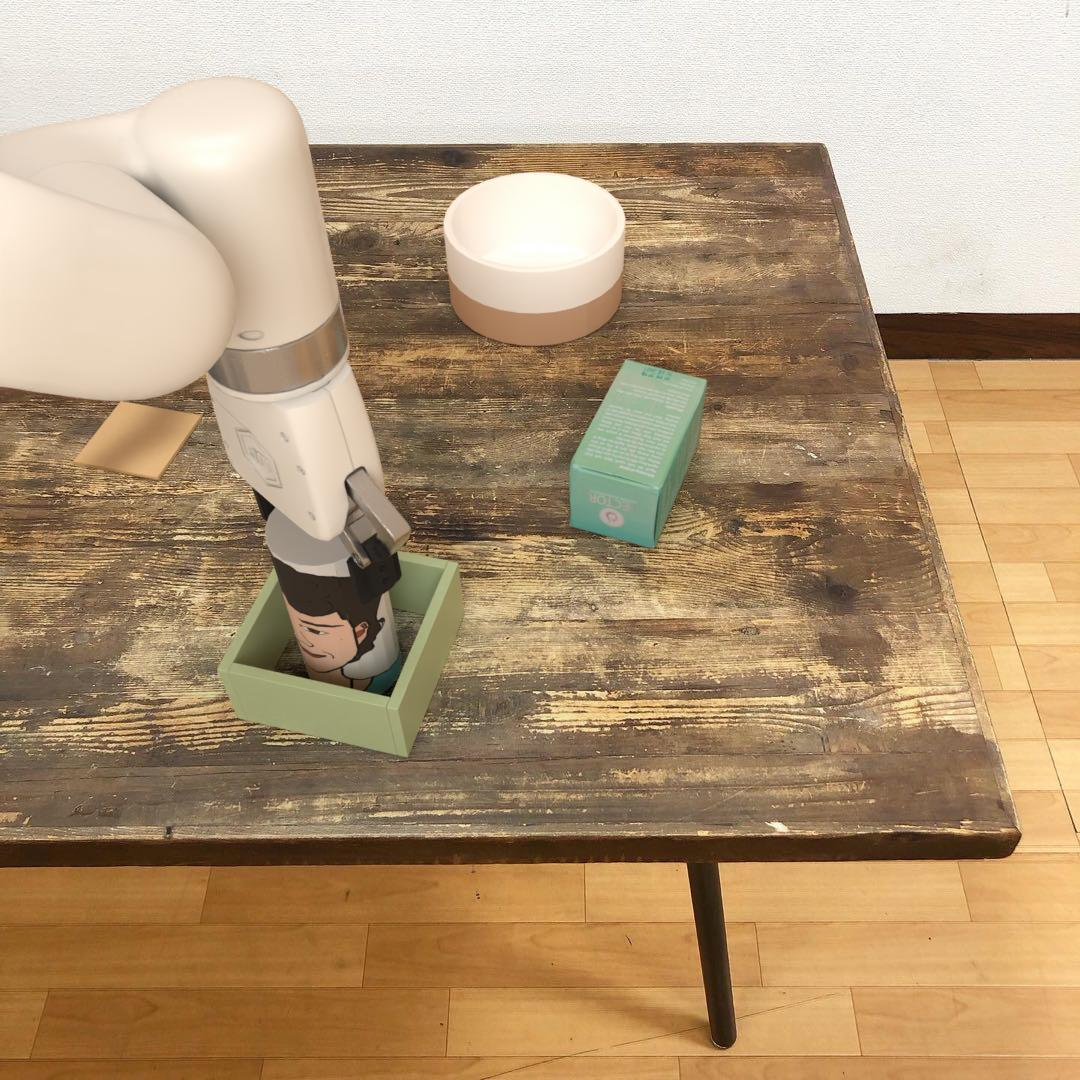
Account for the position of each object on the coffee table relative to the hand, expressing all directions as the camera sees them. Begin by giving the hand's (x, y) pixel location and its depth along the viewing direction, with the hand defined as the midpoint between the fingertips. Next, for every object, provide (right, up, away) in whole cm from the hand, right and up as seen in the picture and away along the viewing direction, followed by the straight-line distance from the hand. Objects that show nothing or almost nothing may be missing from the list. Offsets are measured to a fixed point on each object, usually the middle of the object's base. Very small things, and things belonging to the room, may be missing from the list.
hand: (331, 548), depth 68 cm
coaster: (-22, +9, +25) cm, 35 cm away
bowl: (+13, +25, +39) cm, 48 cm away
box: (+21, +5, +21) cm, 30 cm away
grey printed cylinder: (0, -9, +9) cm, 13 cm away
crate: (0, -8, +9) cm, 13 cm away
